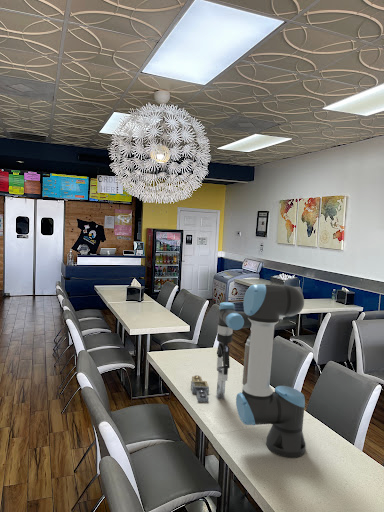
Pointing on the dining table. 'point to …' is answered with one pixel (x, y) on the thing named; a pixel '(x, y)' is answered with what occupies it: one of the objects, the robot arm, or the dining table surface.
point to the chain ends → (200, 388)
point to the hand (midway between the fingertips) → (221, 374)
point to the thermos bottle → (246, 360)
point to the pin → (220, 385)
